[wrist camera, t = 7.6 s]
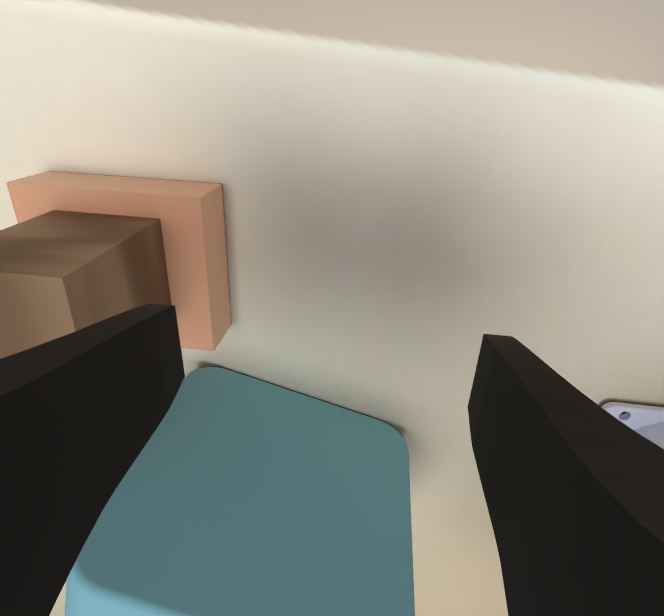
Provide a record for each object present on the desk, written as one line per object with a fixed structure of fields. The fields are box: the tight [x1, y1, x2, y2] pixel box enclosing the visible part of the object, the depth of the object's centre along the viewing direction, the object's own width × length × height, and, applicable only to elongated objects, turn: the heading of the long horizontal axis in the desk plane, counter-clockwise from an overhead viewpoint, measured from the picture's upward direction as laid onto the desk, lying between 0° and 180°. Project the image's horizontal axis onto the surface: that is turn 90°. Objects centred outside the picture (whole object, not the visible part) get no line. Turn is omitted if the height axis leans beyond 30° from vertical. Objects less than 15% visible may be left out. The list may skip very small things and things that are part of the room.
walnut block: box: [0, 210, 172, 359], centre depth 16 cm, size 4×4×6 cm
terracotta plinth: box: [6, 171, 231, 351], centre depth 20 cm, size 8×7×2 cm
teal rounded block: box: [65, 367, 415, 616], centre depth 20 cm, size 12×4×12 cm, turn 72°
